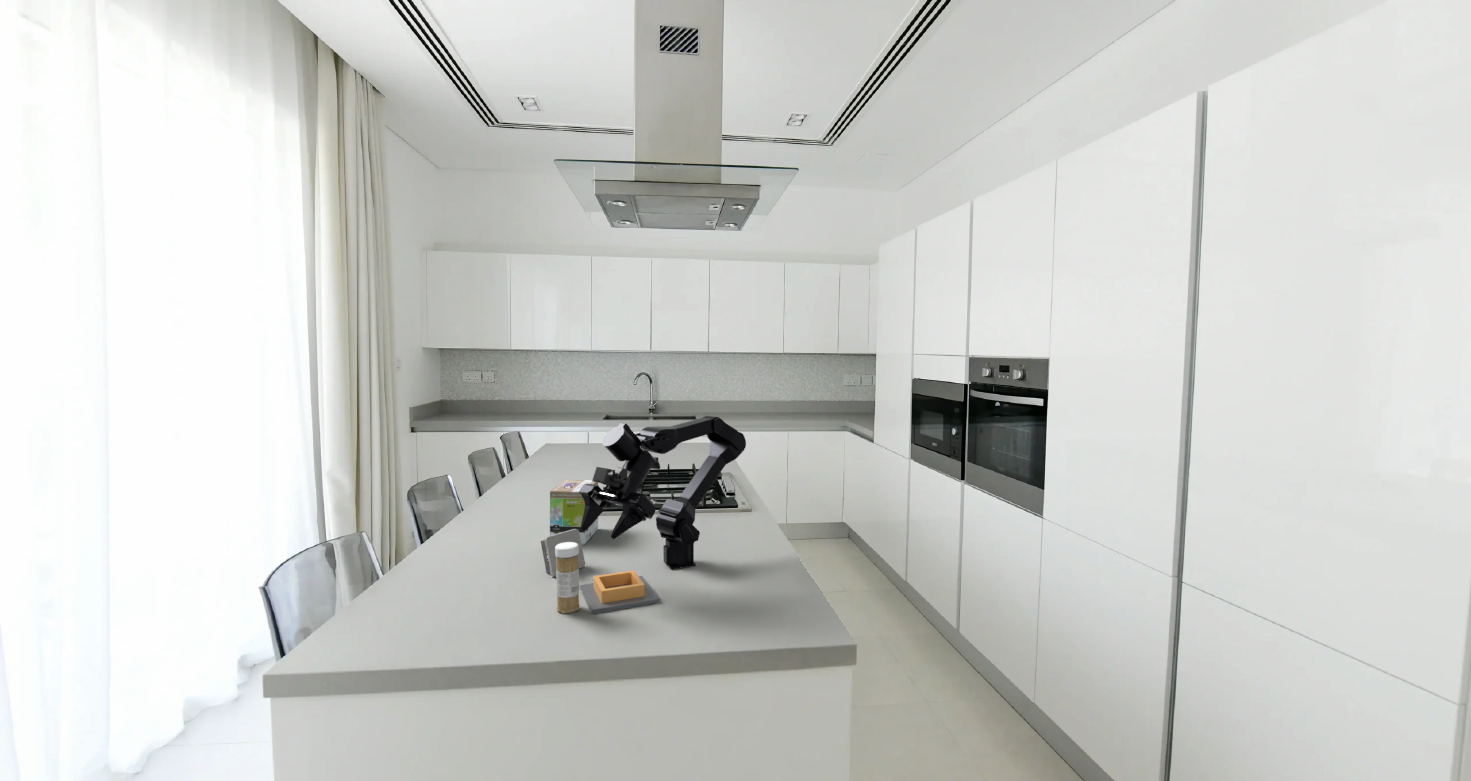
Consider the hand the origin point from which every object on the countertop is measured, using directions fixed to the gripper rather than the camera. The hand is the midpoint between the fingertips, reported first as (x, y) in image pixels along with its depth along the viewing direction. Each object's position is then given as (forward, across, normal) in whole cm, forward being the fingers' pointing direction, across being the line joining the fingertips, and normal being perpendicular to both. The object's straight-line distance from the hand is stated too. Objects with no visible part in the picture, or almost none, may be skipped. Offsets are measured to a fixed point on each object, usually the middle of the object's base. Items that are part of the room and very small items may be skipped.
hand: (596, 533), depth 133 cm
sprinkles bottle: (+15, 0, +4) cm, 16 cm away
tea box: (-8, -36, +27) cm, 46 cm away
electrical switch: (+6, -18, +14) cm, 24 cm away
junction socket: (+8, +3, +12) cm, 14 cm away
